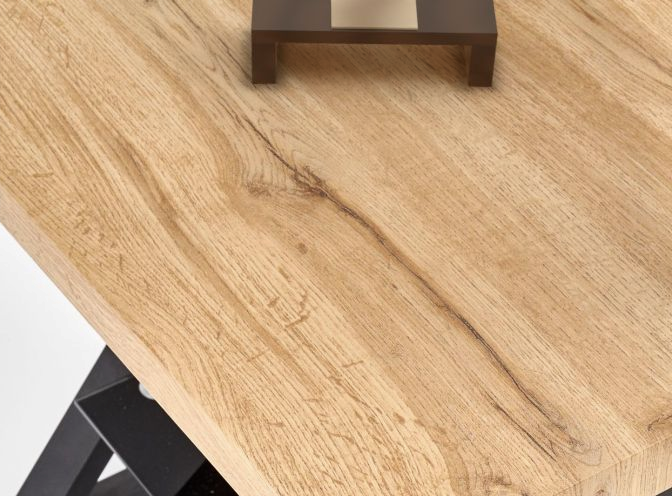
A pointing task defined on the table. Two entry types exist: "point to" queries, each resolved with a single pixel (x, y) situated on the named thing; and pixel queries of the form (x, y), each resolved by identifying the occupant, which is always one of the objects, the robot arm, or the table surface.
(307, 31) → the low wooden stand
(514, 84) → the table surface
